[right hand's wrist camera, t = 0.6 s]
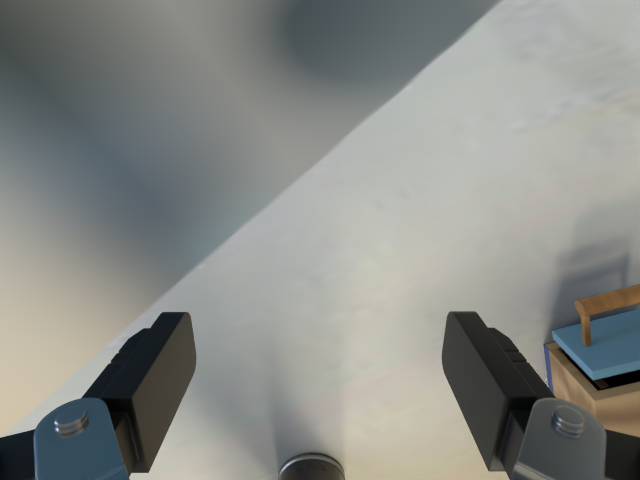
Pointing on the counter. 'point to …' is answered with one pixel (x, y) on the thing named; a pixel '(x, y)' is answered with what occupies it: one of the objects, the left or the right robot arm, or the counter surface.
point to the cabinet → (593, 394)
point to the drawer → (605, 339)
